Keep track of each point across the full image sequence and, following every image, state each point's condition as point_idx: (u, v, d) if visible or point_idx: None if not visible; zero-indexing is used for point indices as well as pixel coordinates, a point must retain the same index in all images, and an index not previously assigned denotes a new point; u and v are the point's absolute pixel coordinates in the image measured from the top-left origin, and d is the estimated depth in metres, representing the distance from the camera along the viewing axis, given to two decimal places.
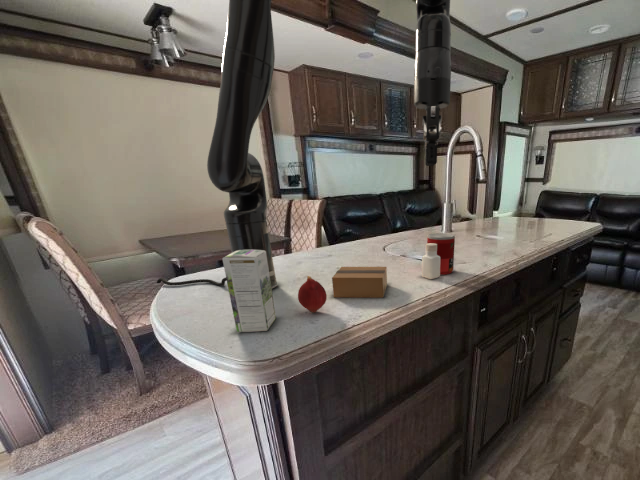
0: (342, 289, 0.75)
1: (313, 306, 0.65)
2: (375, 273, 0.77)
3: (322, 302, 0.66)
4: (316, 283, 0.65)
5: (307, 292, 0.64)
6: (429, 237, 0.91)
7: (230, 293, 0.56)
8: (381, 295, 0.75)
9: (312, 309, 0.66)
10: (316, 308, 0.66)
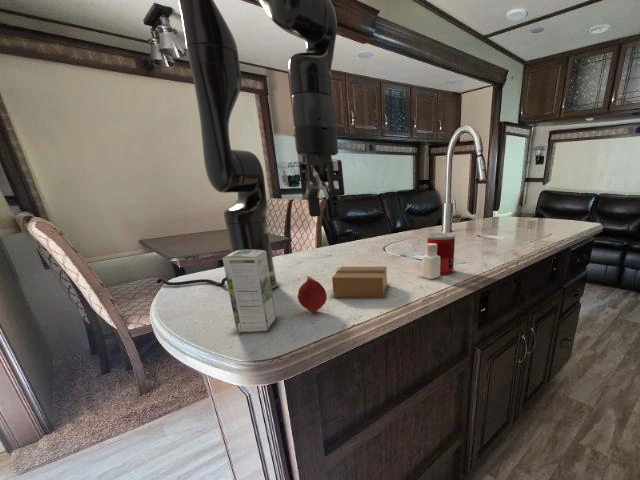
0: (342, 289, 0.75)
1: (313, 306, 0.65)
2: (375, 273, 0.77)
3: (322, 302, 0.66)
4: (316, 283, 0.65)
5: (307, 292, 0.64)
6: (429, 237, 0.91)
7: (230, 293, 0.56)
8: (381, 295, 0.75)
9: (312, 309, 0.66)
10: (316, 308, 0.66)
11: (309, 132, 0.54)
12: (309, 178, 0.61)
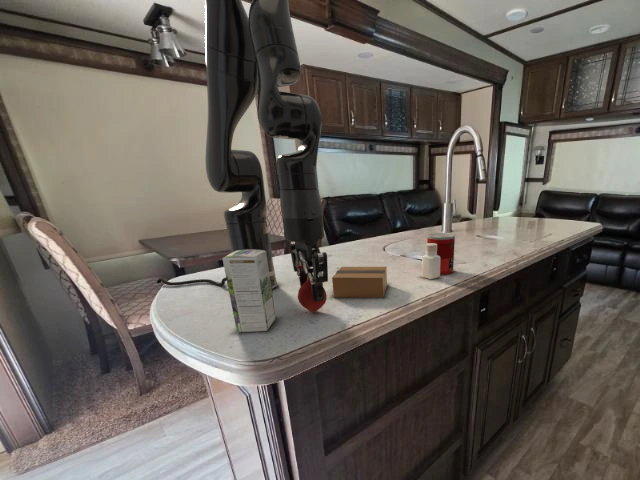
0: (342, 289, 0.75)
1: (313, 306, 0.65)
2: (375, 273, 0.77)
3: (322, 302, 0.66)
4: None
5: (307, 292, 0.64)
6: (429, 237, 0.91)
7: (230, 293, 0.56)
8: (381, 295, 0.75)
9: (312, 309, 0.66)
10: (316, 308, 0.66)
11: (296, 224, 0.58)
12: (298, 259, 0.64)
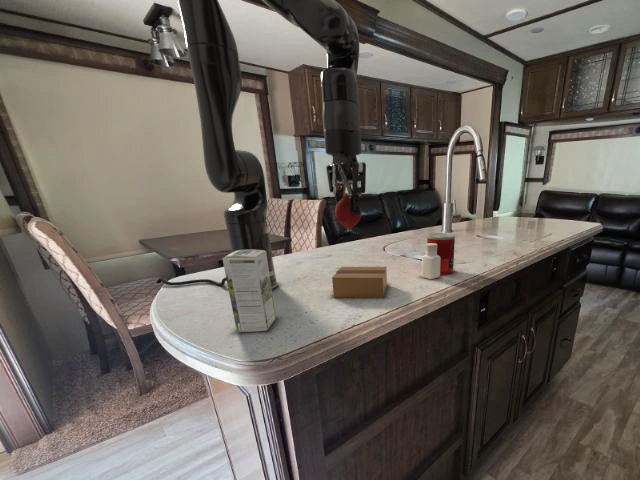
0: (342, 289, 0.75)
1: (349, 220, 0.69)
2: (375, 273, 0.77)
3: (358, 218, 0.70)
4: None
5: (344, 206, 0.68)
6: (429, 237, 0.91)
7: (230, 293, 0.56)
8: (381, 295, 0.75)
9: (348, 224, 0.70)
10: (352, 223, 0.70)
11: (338, 134, 0.62)
12: (336, 175, 0.68)
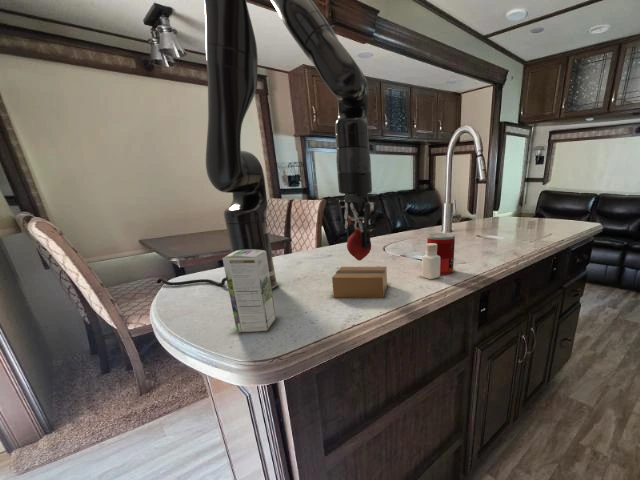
0: (342, 289, 0.75)
1: (361, 253, 0.74)
2: (375, 273, 0.77)
3: (368, 250, 0.75)
4: None
5: (356, 240, 0.73)
6: (429, 237, 0.91)
7: (230, 293, 0.56)
8: (381, 295, 0.75)
9: (359, 256, 0.75)
10: (363, 255, 0.75)
11: (351, 177, 0.67)
12: (348, 212, 0.74)
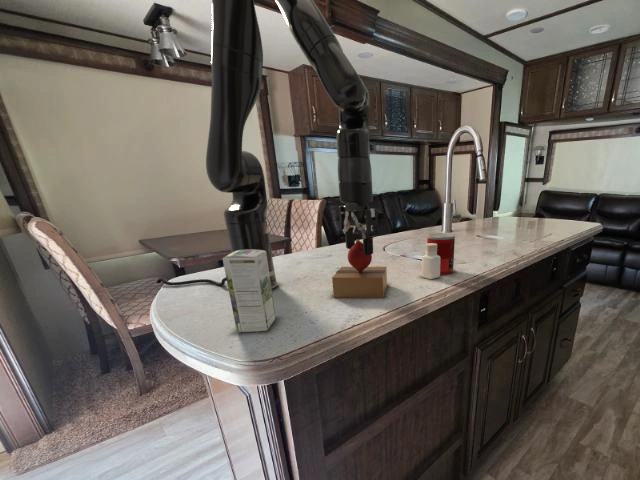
0: (342, 289, 0.75)
1: (361, 265, 0.75)
2: (375, 273, 0.77)
3: (369, 262, 0.76)
4: None
5: (357, 252, 0.74)
6: (429, 237, 0.91)
7: (230, 293, 0.56)
8: (381, 295, 0.75)
9: (360, 268, 0.76)
10: (363, 267, 0.76)
11: (352, 187, 0.68)
12: (348, 220, 0.75)
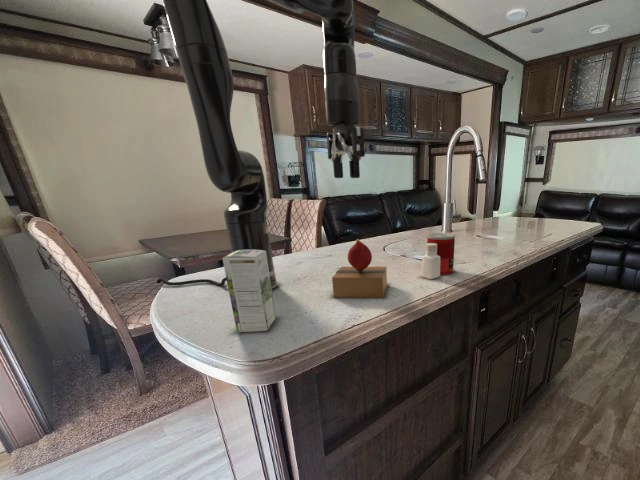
0: (342, 289, 0.75)
1: (361, 265, 0.75)
2: (375, 273, 0.77)
3: (369, 262, 0.76)
4: (364, 245, 0.76)
5: (357, 252, 0.74)
6: (429, 237, 0.91)
7: (230, 293, 0.56)
8: (381, 295, 0.75)
9: (360, 268, 0.76)
10: (363, 267, 0.76)
11: (338, 105, 0.68)
12: (335, 144, 0.75)
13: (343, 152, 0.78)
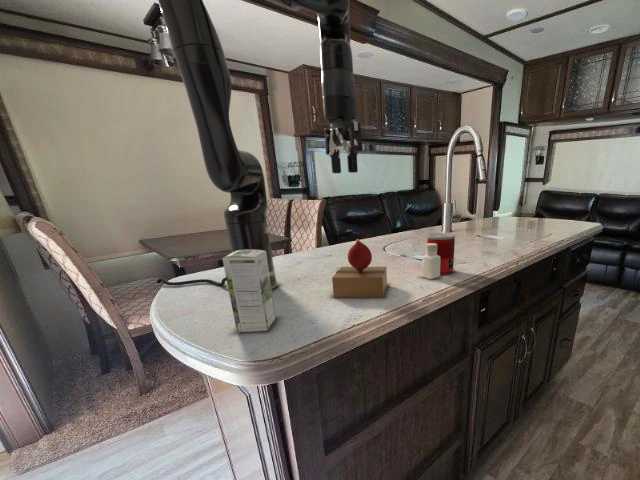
0: (342, 289, 0.75)
1: (361, 265, 0.75)
2: (375, 273, 0.77)
3: (369, 262, 0.76)
4: (364, 245, 0.76)
5: (357, 252, 0.74)
6: (429, 237, 0.91)
7: (230, 293, 0.56)
8: (381, 295, 0.75)
9: (360, 268, 0.76)
10: (363, 267, 0.76)
11: (335, 100, 0.69)
12: (333, 139, 0.76)
13: (341, 147, 0.79)
